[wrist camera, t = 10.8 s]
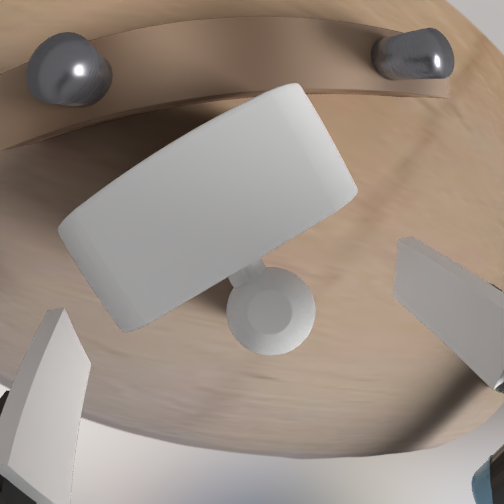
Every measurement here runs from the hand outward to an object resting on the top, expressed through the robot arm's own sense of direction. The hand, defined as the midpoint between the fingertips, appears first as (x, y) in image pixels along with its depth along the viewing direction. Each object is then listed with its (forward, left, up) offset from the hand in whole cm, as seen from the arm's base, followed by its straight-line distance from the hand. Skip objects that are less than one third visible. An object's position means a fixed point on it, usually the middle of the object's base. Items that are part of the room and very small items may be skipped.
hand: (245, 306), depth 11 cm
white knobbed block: (0, -1, -6) cm, 6 cm away
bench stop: (+9, -2, -6) cm, 11 cm away
